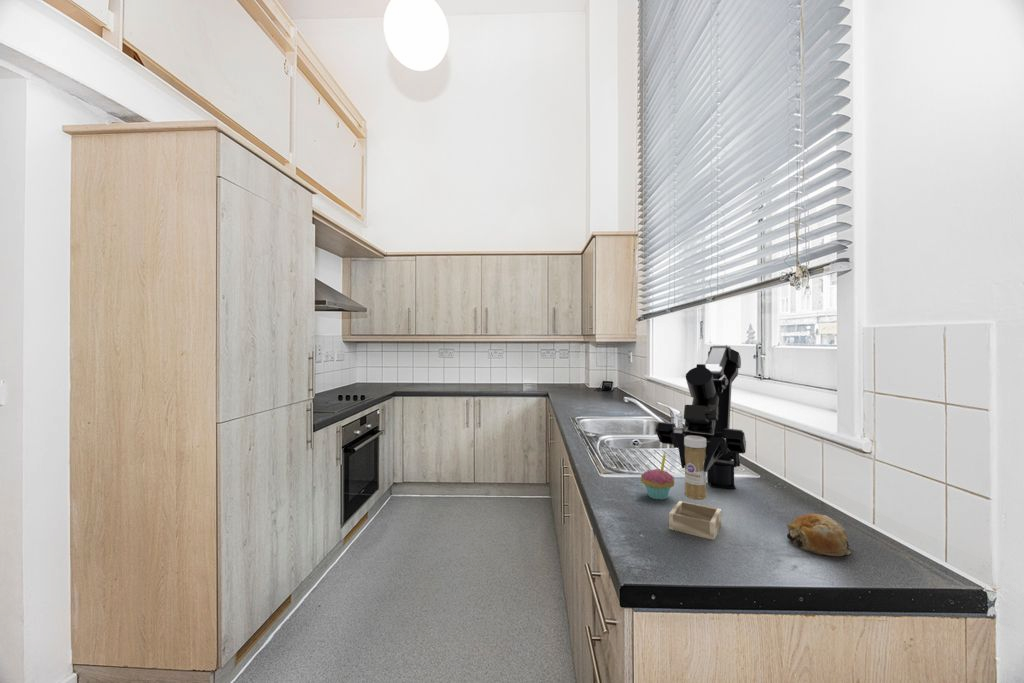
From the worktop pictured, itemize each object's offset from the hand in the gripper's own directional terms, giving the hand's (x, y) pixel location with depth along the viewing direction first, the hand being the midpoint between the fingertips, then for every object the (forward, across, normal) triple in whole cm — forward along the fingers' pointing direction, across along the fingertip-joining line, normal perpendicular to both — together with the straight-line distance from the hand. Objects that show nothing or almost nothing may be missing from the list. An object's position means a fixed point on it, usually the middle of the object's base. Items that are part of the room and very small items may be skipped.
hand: (693, 469), depth 94 cm
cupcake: (-1, -12, +20) cm, 24 cm away
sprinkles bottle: (+4, 0, +6) cm, 7 cm away
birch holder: (+9, 0, +10) cm, 13 cm away
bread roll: (+6, +22, +14) cm, 27 cm away
